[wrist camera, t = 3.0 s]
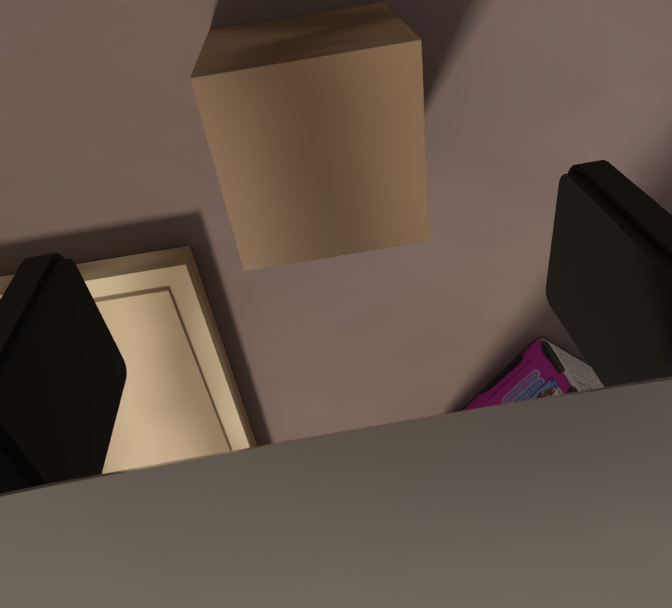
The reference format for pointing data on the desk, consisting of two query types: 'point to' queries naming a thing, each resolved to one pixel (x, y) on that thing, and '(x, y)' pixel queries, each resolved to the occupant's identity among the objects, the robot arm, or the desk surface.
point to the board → (165, 361)
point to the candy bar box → (538, 377)
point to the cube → (317, 133)
